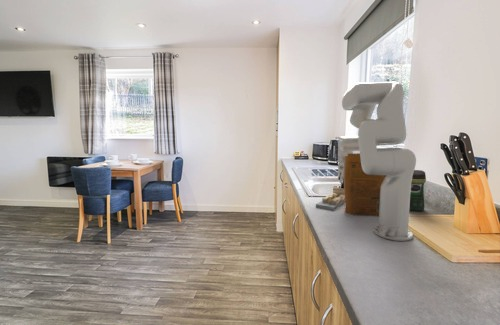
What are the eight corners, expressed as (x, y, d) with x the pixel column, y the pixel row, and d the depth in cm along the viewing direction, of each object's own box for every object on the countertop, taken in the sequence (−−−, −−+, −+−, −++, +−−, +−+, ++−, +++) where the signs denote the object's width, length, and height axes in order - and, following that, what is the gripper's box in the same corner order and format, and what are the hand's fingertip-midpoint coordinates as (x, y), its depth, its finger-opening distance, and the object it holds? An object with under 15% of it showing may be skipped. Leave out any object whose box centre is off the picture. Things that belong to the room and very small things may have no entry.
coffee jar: (421, 207, 127) (423, 169, 124) (425, 212, 119) (428, 171, 117) (398, 205, 130) (400, 168, 127) (401, 210, 123) (404, 171, 120)
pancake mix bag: (389, 218, 113) (393, 153, 109) (342, 215, 117) (344, 153, 114) (385, 213, 120) (388, 151, 116) (341, 210, 124) (342, 151, 120)
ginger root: (335, 204, 129) (336, 194, 128) (322, 201, 133) (322, 192, 133) (346, 197, 140) (347, 188, 139) (334, 195, 144) (334, 187, 144)
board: (333, 210, 125) (333, 200, 124) (315, 207, 130) (316, 197, 130) (349, 200, 140) (349, 192, 139) (332, 198, 146) (332, 189, 145)
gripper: (346, 161, 135) (345, 196, 138) (357, 158, 146) (355, 190, 149) (332, 160, 140) (332, 193, 143) (343, 157, 151) (342, 188, 154)
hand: (344, 192), depth 146 cm, fingers closed
